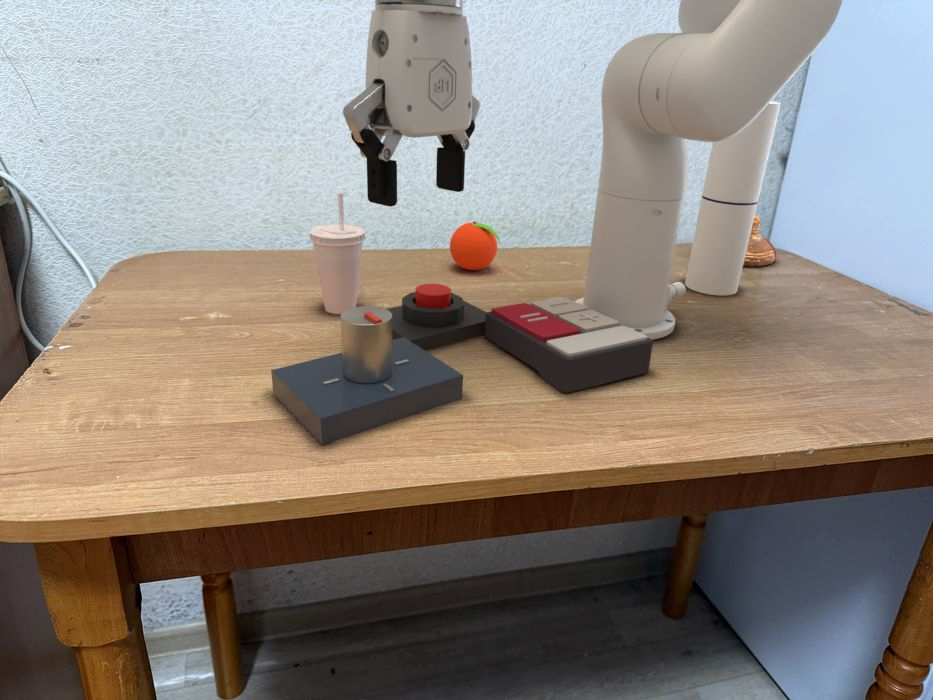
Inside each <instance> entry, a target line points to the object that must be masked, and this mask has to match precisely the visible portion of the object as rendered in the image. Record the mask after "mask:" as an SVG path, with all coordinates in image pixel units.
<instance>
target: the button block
mask: <svg viewBox="0 0 933 700" xmlns="http://www.w3.org/2000/svg"><path fill="white" fill-rule="evenodd" d="M385 309H386V310H388V311H390V312H391V314H392V340H395V339H399V338H403V337H404V338H406V339H408V340H409V341H411V342H412V343H414V344H415V345H417V346H419V347H420V348H422V349H423V350H425V351H429V350H432V349H436V348H440V347H443V346H448V345H451V344H455V343H459V342H462V341H466V340H470V339H473V338H477V337H482V336H485V320H486V313H487V312H488V311H485V310H484V309H481V308H480V307H477V306H476V305H473V304H471V303H469V302H467V301H466V300H464V299H463V297H462V296H460V295H457V294H456V293H453V292H451V305H450V306H448V307H443V308H426V307H421V306H418V305H417V304H415V291H414V292H409V293H407V294H406V295H404V296H402V297H401V305H398V306H393V307H388V308H385Z"/></svg>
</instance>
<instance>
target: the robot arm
mask: <svg viewBox="0 0 933 700" xmlns="http://www.w3.org/2000/svg"><path fill="white" fill-rule="evenodd" d="M842 4H843V0H680V2H679V6H678V15H677V19H678V20H677V21H678V26H679V29H680V31H681V32H657V33H655V32H654V33H649V34H645V35H641V36H638V37H635V38H633V39H631V40H629V41H628V42H627V43H625V44H624V45H622V46H621V47H620V48H619V49H618V50H617V51H616V52H615V53H614V55H613V56H612V57H611V58H610V61H609V63H608V64H607V67H606V69H605V71H604V75H603V78H602V86H601V117H602V118H601V119H602V148H601V149H602V150H601V161H600V171H599V180H598V187H597V193H596V200H595V207H594V208H595V209H594V215H593V222H592V231H591V238H590V239H591V240H590V245H589V246H590V247H589V254H588V263H587V270H586V276H585V277H586V279H585V285H584V294H583V297H581V298H578V299H576V300H575V301H574V302H576V303H578V304H581V305H583V306H585V307H587V310H594V311H596V312H599V313H601V314H603V315H605V316H608V317H610V318H612V319H614V320H617V321H619V325H621V326H626V327H628V328H630V329H633V330H635V331H637V332H639V333H642V334H644V335H646V336H647V338H650V339H652V340H653V341H654V340H659V339H663V338H665V337H668V336H669V335H670V334H672V333H673V332H674V329H675V325H676V318H675V316H674V315H673V314H672V312H670V311H669V310H668V309H667V307H668V303H670V302H671V301H672V300H674V299H678V298H681V297H684V296H685V294H686V291H687V288H686V285H685V283H683V282H681V281H676V282H672V283H670V278H671V271H672V266H673V262H674V255H675V250H676V245H677V240H678V235H679V229H680V224H681V219H682V213H683V207H684V202H685V198H686V195H687V194H686V193H687V188H688V182H689V155H688V149H687V142H686V140H689V141H693V142H701V143H702V142H703V143H713V142H718V141H722V140H726V139H728V138H730V137H733V136H734V135H736V134H738V133H739V132H741V131H742V130H743V129H744V128H746V127H747V126H748V125H749V124H750V123H751V122H752V121H753V120H754V119H755V118H756V117H757V116H758V115H759V114H760V113H761V112H762V111H763V110H764V108H765V107H766V106H767V105H768V104H769V103H770V102H772V101H773V99H774V98H775V97H776V96H777V95H778V94H779V93H780V91H781V90H783V88H784V87H785V86H786V85H787V83H788V82H789V81H790V80H791V79H792V78H793V76H794V75H796V73H797V72H798V71H799V69H800V68H801V67H802V66H803V65H804V64H805V63H806V62H807V60H808V59H809V58H810V57H811V56H812V55H813V54H814V53H815V51H816V50H817V48H818V47H819V46H820V45H821V44H822V42H823V41H824V40H825V38H826V37H827V36H828V34H829V33H830V31H831V29H832V27H833V26H834V23H835V22H836V20H837V17H838V14H839V12H840V9H841V6H842ZM463 6H464V0H374V10H373V9H372V10H371V16H370V22H369V30H368V37H367V48H366V61H365V62H366V63H365V89H364V90H363V91H362V92H361V93H359V94H358V95H357V96H356V97H354V98H353V99H352V100H350V101H349V102H348V103H347V104H346V105H344V107H343V109H342V114H343V117H344V119H345V122H346V124H347V127H348V130H349V131H350V137H351V140H352V142H353V143H354V144H355V145H356V147H357V148H358V149H359V153H360V156H361V157H362V158H364V159H366V183H367V185H366V186H367V187H366V188H367V189H366V191H367V200H368V202H370V203H373V204H377V205H381V206H386V207H394V206H395V207H396V206H397V203H398V164H397V160H395V159H392V157H393V155H394V153H395V151H396V150H397V148H398V145H399V144H400V142H401V140H402V138H403V136H404V137H407V138H414V139H415V138H427V137H437V139H438V141H439V143H440V145H441V146H440V147H439V146H438V147H437V148H436V170H435V171H436V172H435V173H436V174H435V175H436V176H435V177H436V178H435V180H436V181H435V185H436V187H437V188H438V189H441V190H446V191H451V192H455V193H460V192H464V189H465V168H466V151H468V150H469V148H470V144H471V143H470V142H471V141H470V138H471V137H472V135H473V133H474V131H475V130H476V129H475V128H476V122H477V121H476V120H477V118H478V115H479V111H480V109H481V102H480V100H479V99H477V98H476V97H475V96H474V95H473V71H472V70H473V69H472V68H473V67H472V66H473V65H472V64H473V63H472V50H471V49H472V48H471V38H470V31H469V25H468V20H467V19H468V18H467V16H465V15H463V8H464V7H463ZM383 137H384V138H383ZM382 139H383V141H382Z"/></svg>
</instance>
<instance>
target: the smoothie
mask: <svg viewBox="0 0 933 700" xmlns="http://www.w3.org/2000/svg"><path fill="white" fill-rule="evenodd" d="M337 201H338V205H337V206H338V222H339V223H334V224H333V223H332V224H322V225H318V226H314V227H312V228H311V229H310V230H309V238H308V239H309V241H310V242H311V243H312V245H313V252H314V256H315V263H316V268H317V272H318V278H319V285H320V289H321V295H322V301H323V306H324V310H325V312H327V313H330V314H333V315H341V314H342V313H343V312H344V311H345V310H348V309H350V308H354V307H357V302H358V293H359V283H360V272H361V263H362V253H363V242H365V241H366V230H365V229H364V228H362V227H360V226H357V225H352V224H345V210H344V209H345V208H344V207H345V206H344V192H337Z"/></svg>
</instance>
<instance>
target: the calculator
mask: <svg viewBox="0 0 933 700" xmlns="http://www.w3.org/2000/svg"><path fill="white" fill-rule="evenodd" d="M486 312H487V313H486V320H485V335H484V337H485V339H487V340H489V341H490V342H491V343H493V344H495V345H496V346H498V347H499V348H501V349H503V350H504V351H506V352H508V353H509V354H510V355H513V356H514V357H516V358H517V359H519V360H521V361H522V362H523V363H525V364H527V365H528V366H530V367H531V368H532V369H534V370H536V371H537V373H538V374H539V376H540V378H541V380H543V381H544V382H546V383H547V384H550V385H551V386H552V387H554V388H555V389H557V390H559V391H560V392H562V393H565V394H568V393H572V392H576V391H580V390H585V389H588V388H592V387H597V386H600V385H604V384H609V383H613V382H616V381H620V380H623V379H628V378H631V377H637V376H641V375H644V374H647V373H649V371H650V367H651V366H650V365H651V358H652V352H653V345H654V344H653V343H654V340H652V339H650V338H647V336H646V335H644V334H642V333H639V332H637V331H635V330H633V329H630V328H628V327H626V326H621V325H619V321H617V320H614V319H612V318H610V317H608V316H605V315H603V314H601V313H599V312H596V311H594V310H587V307H585V306H583V305H581V304H578V303H576V302H574V301H573V300H571V299H569V298H568V297H564V296H559V297H552V298H546V299H540V300H534V301H533V300H532V301H531V302H530V304H529V303H527V302H522V303H516V304H509V305H503V306H497V307H492V308H491V311H486Z"/></svg>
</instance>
